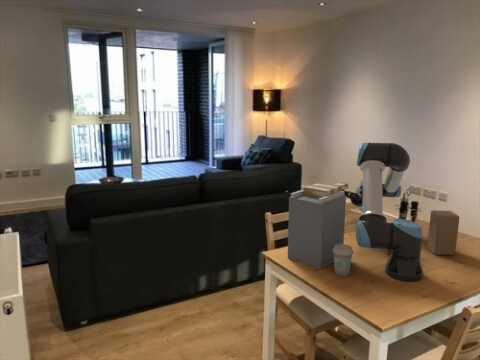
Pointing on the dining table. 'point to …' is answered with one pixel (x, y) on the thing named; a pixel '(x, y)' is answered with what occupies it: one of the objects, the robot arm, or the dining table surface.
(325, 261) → the charcoal plinth
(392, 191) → the robot arm
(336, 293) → the dining table surface
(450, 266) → the dining table surface
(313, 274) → the dining table surface
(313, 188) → the oak board
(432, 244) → the wooden block
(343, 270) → the coffee cup
